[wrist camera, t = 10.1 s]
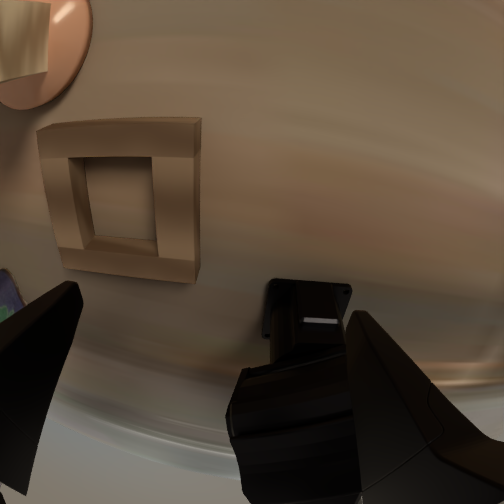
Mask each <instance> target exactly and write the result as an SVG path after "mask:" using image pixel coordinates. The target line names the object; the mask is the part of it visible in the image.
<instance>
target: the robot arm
mask: <svg viewBox="0 0 504 504" xmlns="http://www.w3.org/2000/svg"><path fill="white" fill-rule="evenodd" d="M274 284H277V285H278V286H274ZM344 290H347V291H344ZM351 295H352V288H351V285H349V284H342V283H329V282H316V281H303V280H290V279H278V278H275V279H272V280H271V281H270V282H269V288H268V295H267V302H266V308H265V315H264V322H263V328H262V337H263V338H264V339H269V340H270V364H268V365H264V366H259V367H255V368H250V367H249V368H244V369H242V371H241V373H240V376H239V379H238V381H237V384H236V386H235V389H234V392H233V394H232V397H231V400H230V402H229V405H228V408H227V412H226V415H225V418H226V424H227V431H228V434H229V438H230V443H231V445H232V447H233V450H234V452H235V455H236V458H237V462H238V465H239V471H240V477H241V484H242V491H243V494H244V495H245V496H246V498H247V499H248V501H249V502H250V503H251V504H362V500H363V504H504V442H501V441H497V440H494V439H491V438H489V437H488V436H486V435H485V434H483V433H482V432H481V431H480V430H479V429H478V428H477V427H476V426H475V425H474V424H473V423H472V422H470V421H469V420H468V419H467V418H466V417H465V416H464V415H463V414H462V413H461V412H460V411H459V410H458V409H457V408H456V407H455V406H454V405H453V404H452V403H451V402H450V401H449V400H448V399H447V398H446V397H445V396H444V395H443V394H442V393H441V392H440V390H439V389H438V388H437V387H436V386H435V385H434V384H433V383H431V380H430V379H429V378H428V377H427V376H426V375H425V374H424V373H423V372H422V370H421V369H420V368H419V367H418V366H417V365H416V364H415V363H414V362H413V360H412V359H411V358H410V357H409V356H408V355H407V354H406V353H405V352H404V351H403V350H402V348H401V347H400V346H399V345H398V344H397V343H396V342H395V341H394V340H393V339H392V338H391V337H390V335H389V334H388V333H387V332H386V331H385V330H384V329H383V328H382V327H381V326H380V325H379V324H378V323H377V322H376V321H375V319H374V318H373V317H372V316H371V315H370V314H369V313H368V312H367V311H364V310H355V311H353V312H352V315H351V317H350V320H349V322H348V325H347V327H346V332H345V330H344V325H343V321H342V319H343V317H344V314H345V311H346V309H347V306H348V303H349V300H350V297H351ZM82 309H83V298H82V295H81V292H80V289H79V286H78V284H77V282H73V281H65V282H63V283H61V284H60V285H58V286H56V287H55V288H53V289H52V290H50V291H48V292H47V293H45V294H44V295H42V296H40V297H39V298H37V299H36V300H34V301H33V302H31V303H29V304H28V305H26V306H25V307H23V308H22V309H20V310H19V311H17V312H16V313H14V314H13V315H11V316H10V317H8V318H7V319H5V320H4V321H2V322H1V323H0V487H1V484H2V483H3V484H5V485H7V486H8V487H10V488H12V489H14V490H16V491H17V492H19V493H21V494H23V495H25V496H26V494H27V491H28V486H29V481H30V476H31V472H32V467H33V463H34V459H35V455H36V451H37V447H38V446H37V445H38V443H39V439H40V436H41V432H42V429H43V425H44V422H45V419H46V415H47V412H48V409H49V406H50V403H51V400H52V397H53V394H54V391H55V388H56V385H57V382H58V379H59V376H60V374H61V371H62V368H63V366H64V363H65V360H66V358H67V355H68V352H69V350H70V347H71V344H72V341H73V338H74V335H75V331H76V328H77V325H78V321H79V318H80V315H81V312H82ZM361 496H362V499H361ZM0 504H6V503H5V500H4V498H3V495H2V493H1V492H0Z"/></svg>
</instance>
